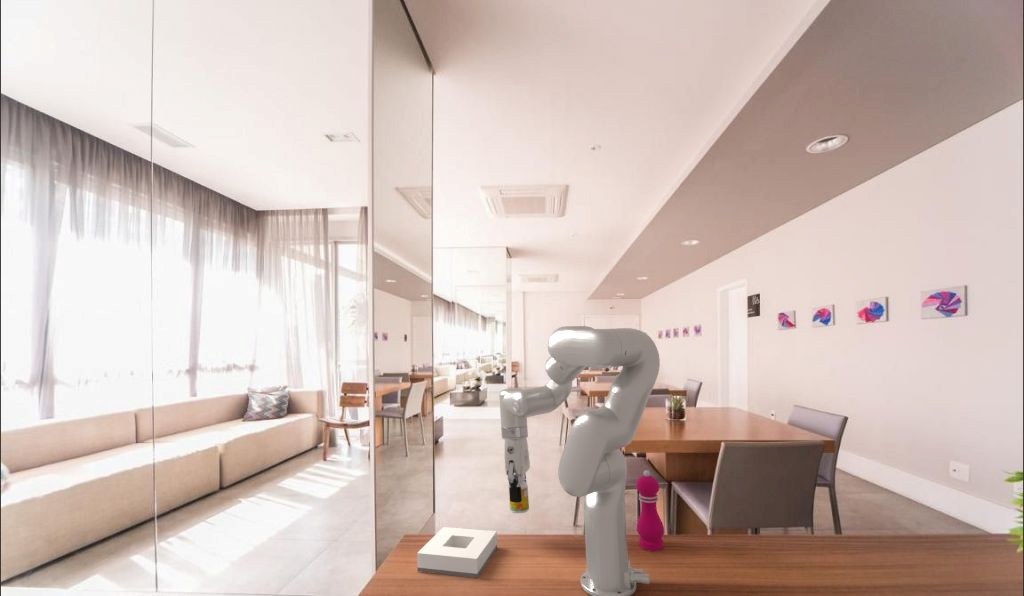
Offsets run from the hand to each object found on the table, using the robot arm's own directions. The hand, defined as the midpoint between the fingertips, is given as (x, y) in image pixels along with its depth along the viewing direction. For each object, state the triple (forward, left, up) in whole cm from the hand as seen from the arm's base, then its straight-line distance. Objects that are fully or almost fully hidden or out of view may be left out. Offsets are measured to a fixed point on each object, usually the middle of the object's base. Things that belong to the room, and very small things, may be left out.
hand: (518, 497), depth 129 cm
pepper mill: (-35, -5, -13) cm, 38 cm away
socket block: (+14, +12, -13) cm, 22 cm away
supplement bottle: (0, 0, -4) cm, 4 cm away
